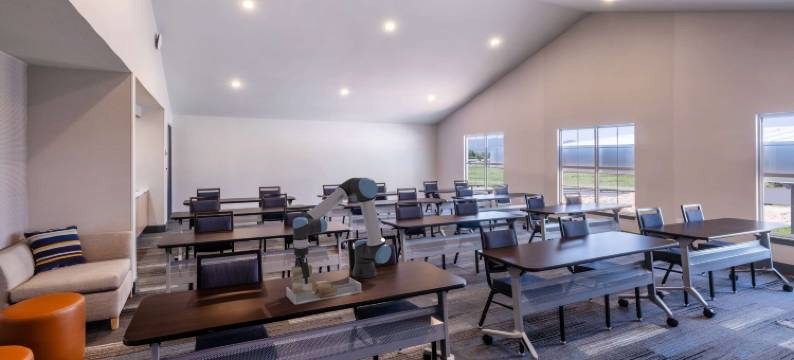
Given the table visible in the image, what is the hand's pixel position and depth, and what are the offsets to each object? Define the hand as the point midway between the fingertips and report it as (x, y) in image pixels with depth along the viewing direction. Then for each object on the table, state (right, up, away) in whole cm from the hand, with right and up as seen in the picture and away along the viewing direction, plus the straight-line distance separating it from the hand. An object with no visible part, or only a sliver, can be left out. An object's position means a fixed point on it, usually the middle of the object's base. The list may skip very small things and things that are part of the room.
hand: (302, 286), depth 229 cm
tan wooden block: (0, -6, 0) cm, 6 cm away
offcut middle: (+11, -4, +5) cm, 13 cm away
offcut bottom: (+11, -6, +6) cm, 13 cm away
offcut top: (+10, -2, +6) cm, 12 cm away
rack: (+11, -7, +6) cm, 14 cm away
